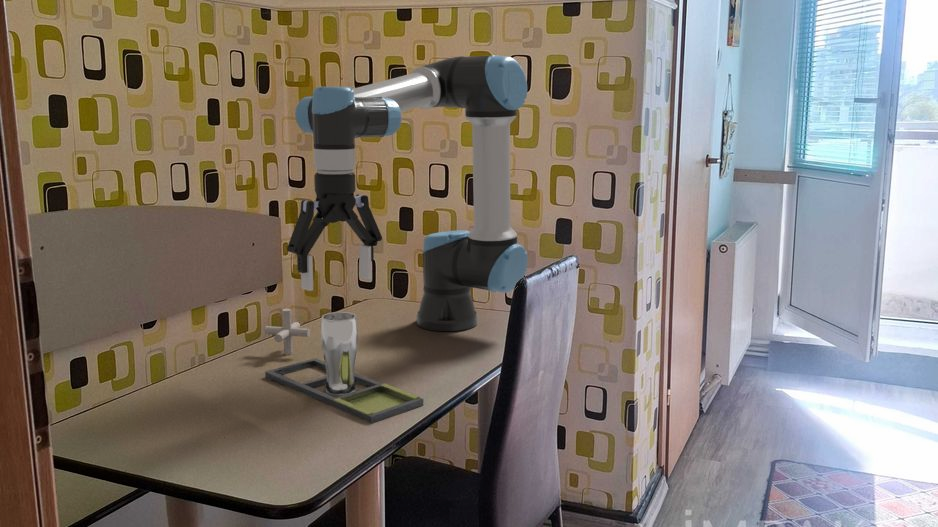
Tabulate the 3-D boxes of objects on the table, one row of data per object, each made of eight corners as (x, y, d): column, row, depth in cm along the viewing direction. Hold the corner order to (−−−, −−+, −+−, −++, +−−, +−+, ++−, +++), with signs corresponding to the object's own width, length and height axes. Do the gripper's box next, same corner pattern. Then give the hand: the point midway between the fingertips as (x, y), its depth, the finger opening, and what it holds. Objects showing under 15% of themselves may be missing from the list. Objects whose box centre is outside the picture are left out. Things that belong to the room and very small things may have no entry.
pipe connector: (300, 362, 184) (299, 317, 182) (257, 358, 186) (255, 314, 184) (318, 348, 194) (316, 305, 192) (276, 345, 196) (274, 303, 194)
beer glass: (336, 382, 172) (335, 309, 169) (365, 388, 169) (364, 314, 166) (315, 393, 166) (313, 318, 163) (345, 399, 163) (343, 322, 160)
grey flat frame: (315, 363, 183) (315, 357, 183) (423, 405, 160) (423, 397, 160) (265, 377, 175) (265, 370, 174) (371, 423, 151) (371, 415, 151)
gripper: (374, 166, 170) (375, 271, 174) (264, 174, 153) (269, 290, 157) (399, 169, 165) (400, 277, 169) (288, 177, 147) (292, 298, 152)
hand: (337, 284), depth 163 cm, fingers open, 13 cm apart
